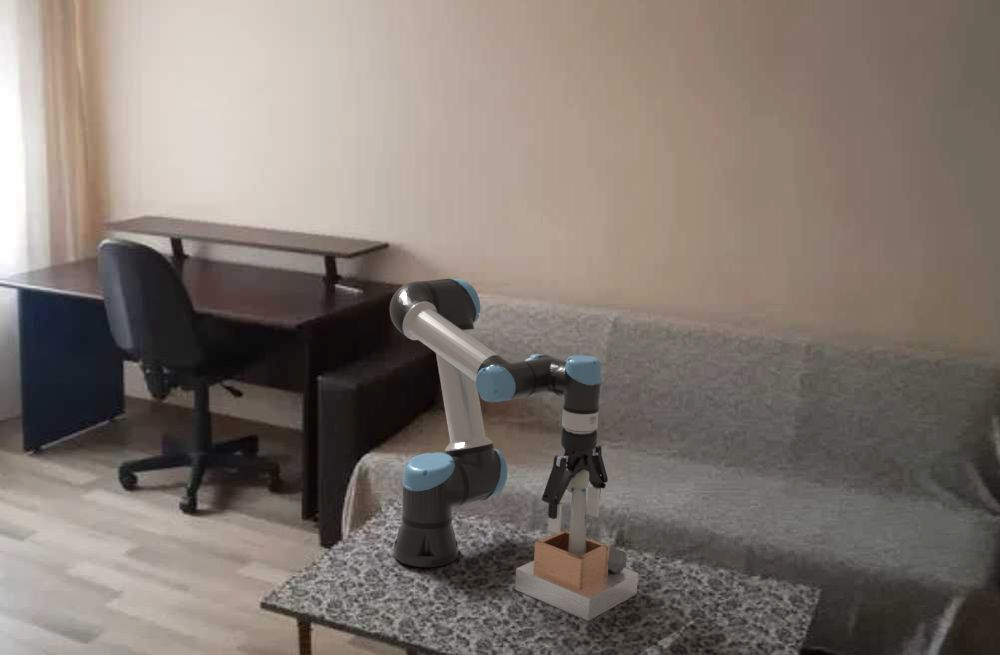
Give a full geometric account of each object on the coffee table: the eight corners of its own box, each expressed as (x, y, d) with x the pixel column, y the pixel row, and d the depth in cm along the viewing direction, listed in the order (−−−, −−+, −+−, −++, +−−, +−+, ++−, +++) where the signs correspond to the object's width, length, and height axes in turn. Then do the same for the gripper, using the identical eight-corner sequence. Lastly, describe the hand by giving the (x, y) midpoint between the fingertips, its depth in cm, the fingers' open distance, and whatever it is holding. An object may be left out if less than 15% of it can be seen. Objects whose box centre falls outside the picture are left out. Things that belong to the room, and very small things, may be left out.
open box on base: (515, 589, 226) (517, 538, 224) (565, 565, 240) (568, 517, 237) (588, 621, 213) (591, 567, 211) (636, 594, 227) (640, 543, 224)
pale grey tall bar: (581, 581, 220) (588, 470, 216) (552, 574, 223) (558, 465, 218) (589, 571, 225) (596, 463, 220) (560, 565, 228) (566, 458, 223)
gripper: (557, 445, 206) (551, 544, 210) (627, 422, 224) (621, 513, 228) (528, 436, 210) (523, 533, 215) (600, 414, 229) (593, 504, 233)
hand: (573, 523), depth 221 cm, fingers open, 13 cm apart
